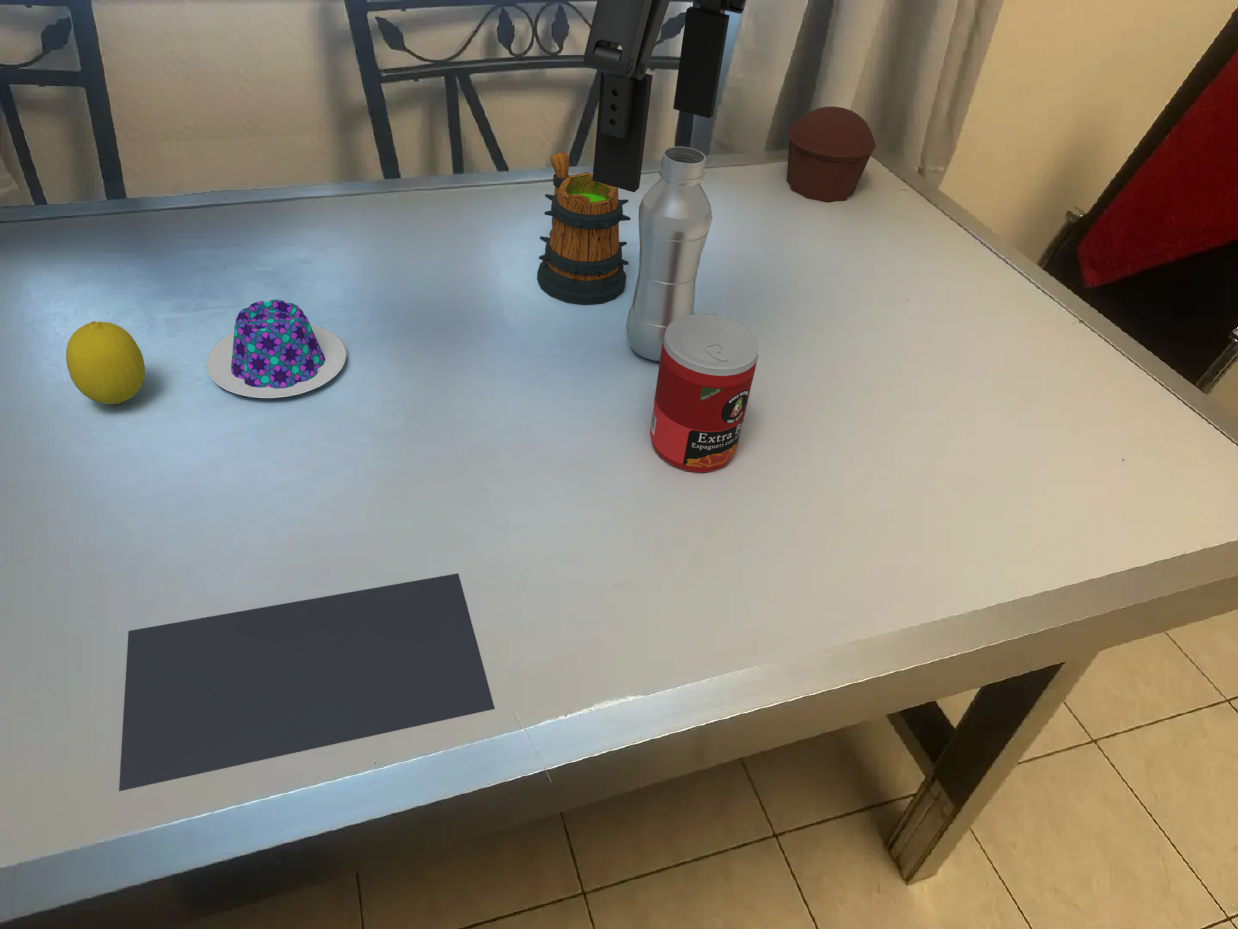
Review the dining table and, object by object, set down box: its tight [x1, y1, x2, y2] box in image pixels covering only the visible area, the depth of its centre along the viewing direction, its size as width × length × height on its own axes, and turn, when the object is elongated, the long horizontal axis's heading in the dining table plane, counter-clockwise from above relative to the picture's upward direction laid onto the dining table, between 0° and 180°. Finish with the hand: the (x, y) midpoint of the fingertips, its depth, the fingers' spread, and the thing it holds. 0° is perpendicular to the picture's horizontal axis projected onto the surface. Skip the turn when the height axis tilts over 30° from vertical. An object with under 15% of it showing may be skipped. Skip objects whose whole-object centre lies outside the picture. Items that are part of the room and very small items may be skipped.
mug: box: [536, 152, 632, 306], centre depth 100 cm, size 13×10×12 cm
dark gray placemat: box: [118, 573, 496, 792], centre depth 62 cm, size 22×12×1 cm, turn 108°
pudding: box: [205, 299, 347, 399], centre depth 85 cm, size 12×12×5 cm
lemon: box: [65, 320, 146, 405], centre depth 78 cm, size 6×6×8 cm
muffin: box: [786, 105, 877, 203], centre depth 123 cm, size 12×11×10 cm
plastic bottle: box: [625, 146, 713, 362], centre depth 87 cm, size 6×7×20 cm
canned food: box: [649, 313, 760, 473], centre depth 80 cm, size 8×8×11 cm
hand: (657, 145), depth 61 cm, fingers open, 13 cm apart
